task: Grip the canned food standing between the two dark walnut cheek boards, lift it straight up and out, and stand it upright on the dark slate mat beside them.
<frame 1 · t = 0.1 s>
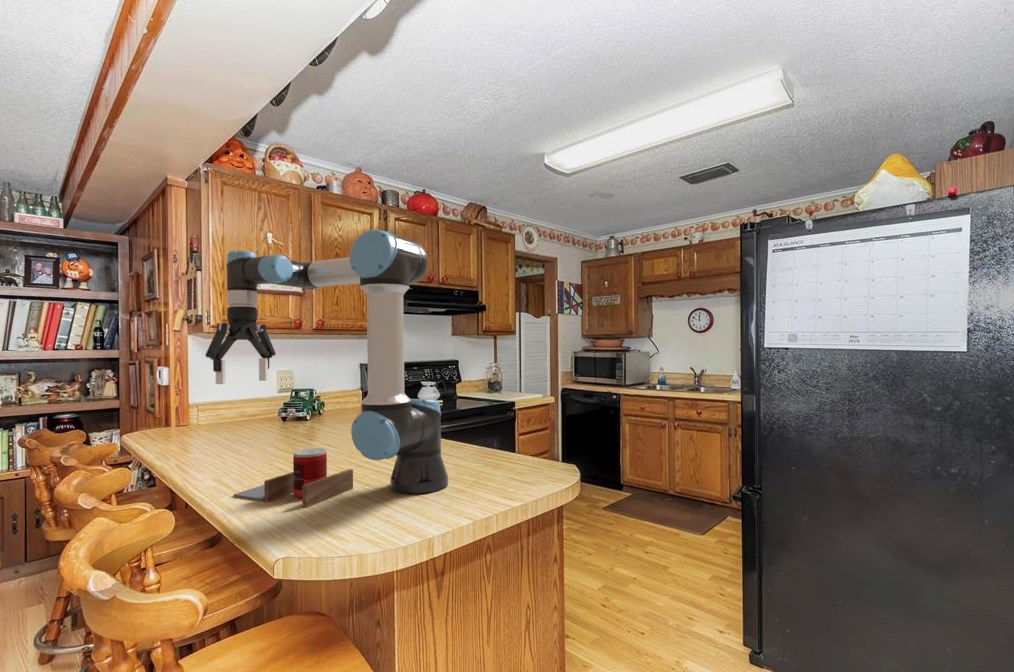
hand: (242, 382, 138), 28 cm above the countertop, tool pointing down, fingers open, 13 cm apart
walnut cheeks: (310, 494, 124), on the countertop
slate mat: (264, 493, 126), on the countertop
canned food: (310, 495, 124), on the countertop
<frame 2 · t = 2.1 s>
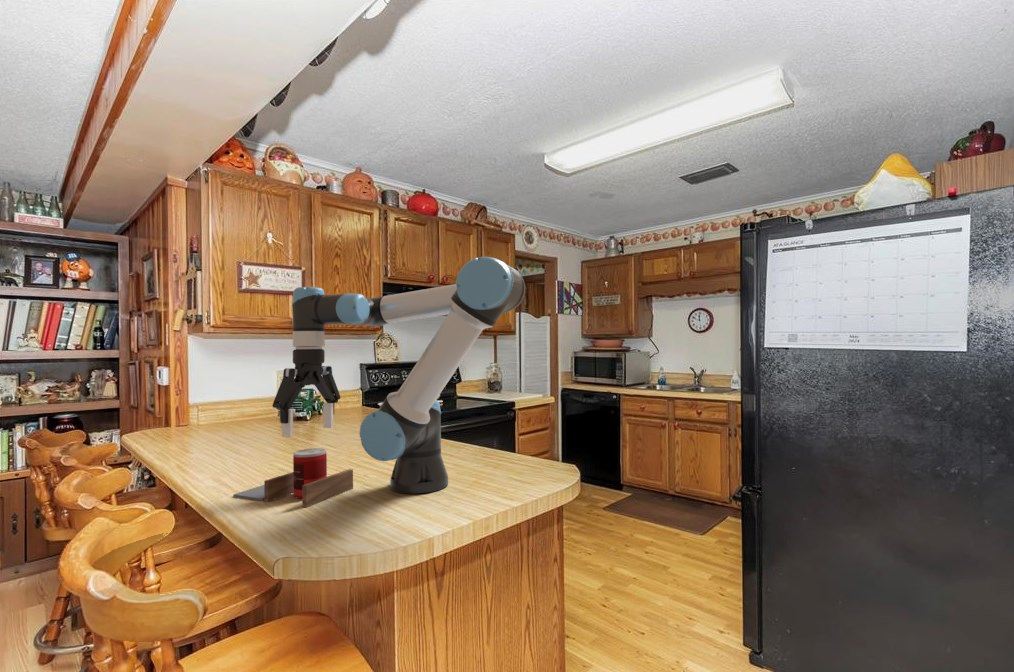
hand: (308, 432, 124), 16 cm above the countertop, tool pointing down, fingers open, 13 cm apart
nothing on the countertop moved.
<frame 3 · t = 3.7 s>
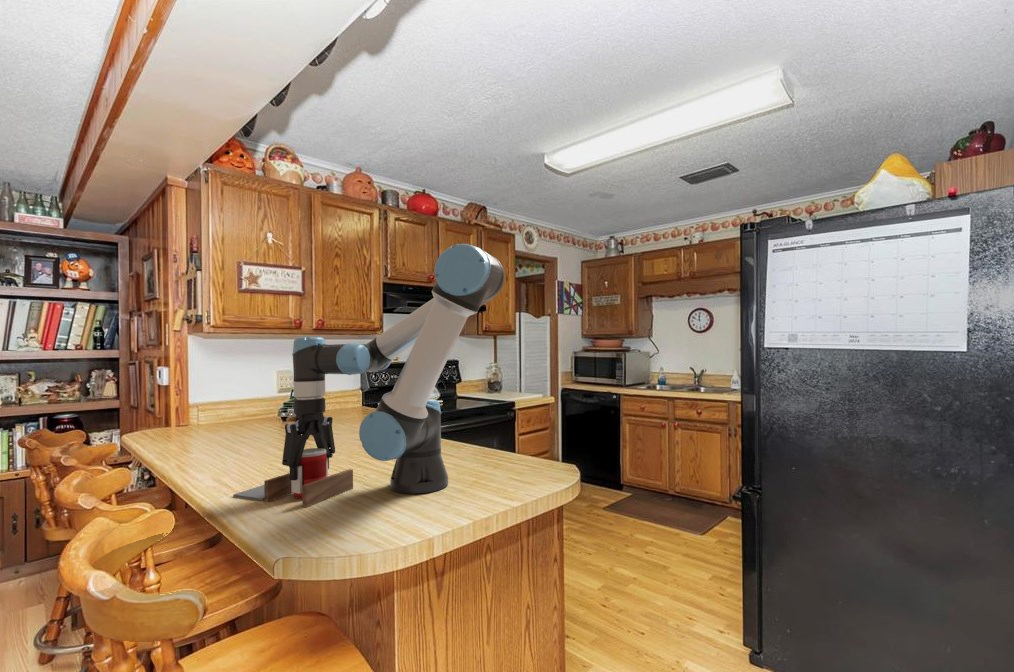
hand: (310, 487, 124), 2 cm above the countertop, tool pointing down, fingers closed on canned food, 8 cm apart
canned food: (310, 495, 124), on the countertop, touching gripper
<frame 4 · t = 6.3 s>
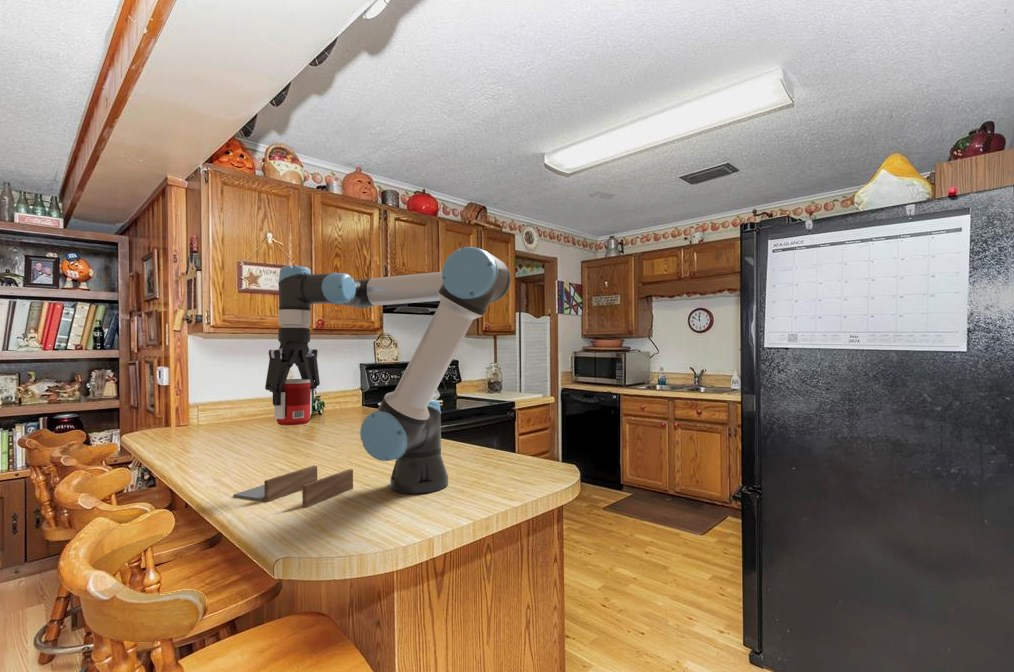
hand: (293, 416, 125), 20 cm above the countertop, tool pointing down, fingers closed on canned food, 8 cm apart
canned food: (293, 423, 125), point 18 cm above the countertop, touching gripper
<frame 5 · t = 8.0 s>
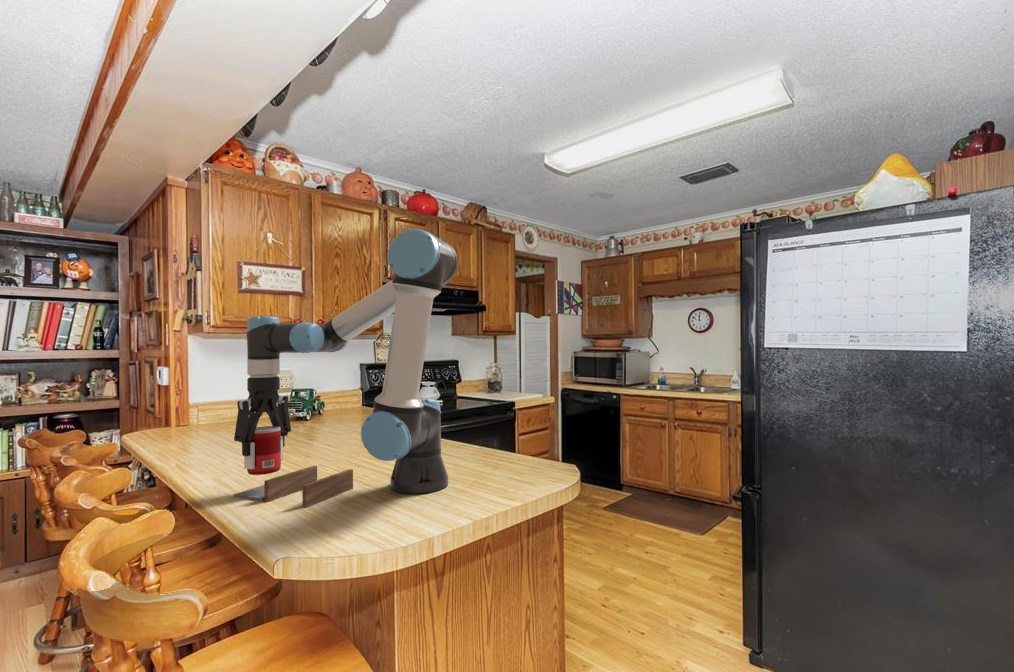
hand: (264, 464, 126), 7 cm above the countertop, tool pointing down, fingers closed on canned food, 8 cm apart
canned food: (264, 472, 126), point 5 cm above the countertop, touching gripper
when the fingers open (4 cm above the countertop, at t = 9.2 s): canned food drops 1 cm, resting on slate mat.
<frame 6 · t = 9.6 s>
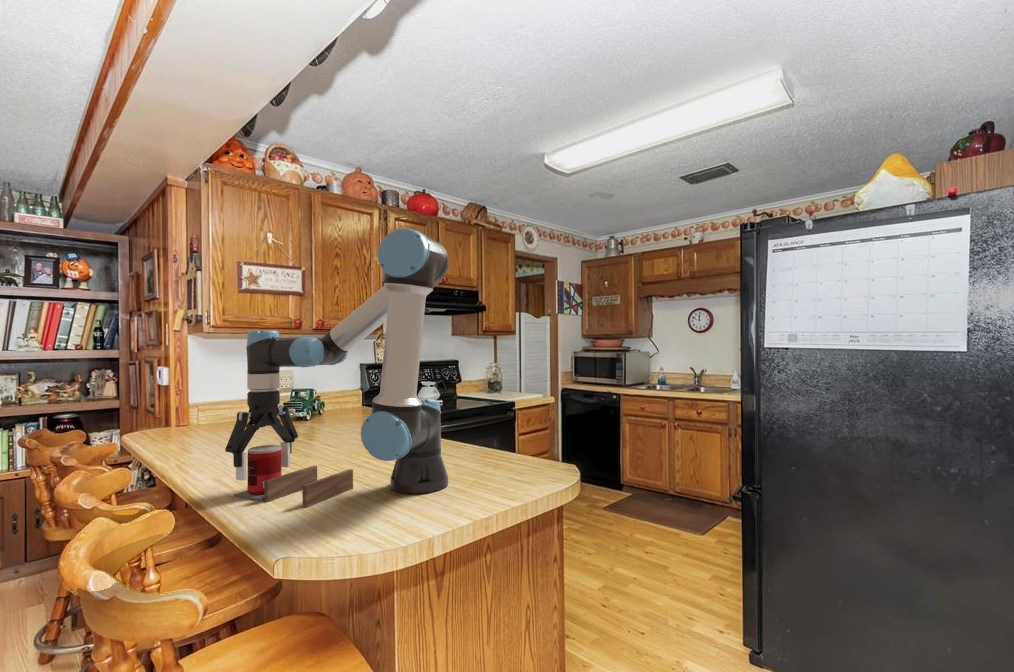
hand: (264, 473, 126), 5 cm above the countertop, tool pointing down, fingers open, 13 cm apart
canned food: (264, 491, 126), resting on slate mat
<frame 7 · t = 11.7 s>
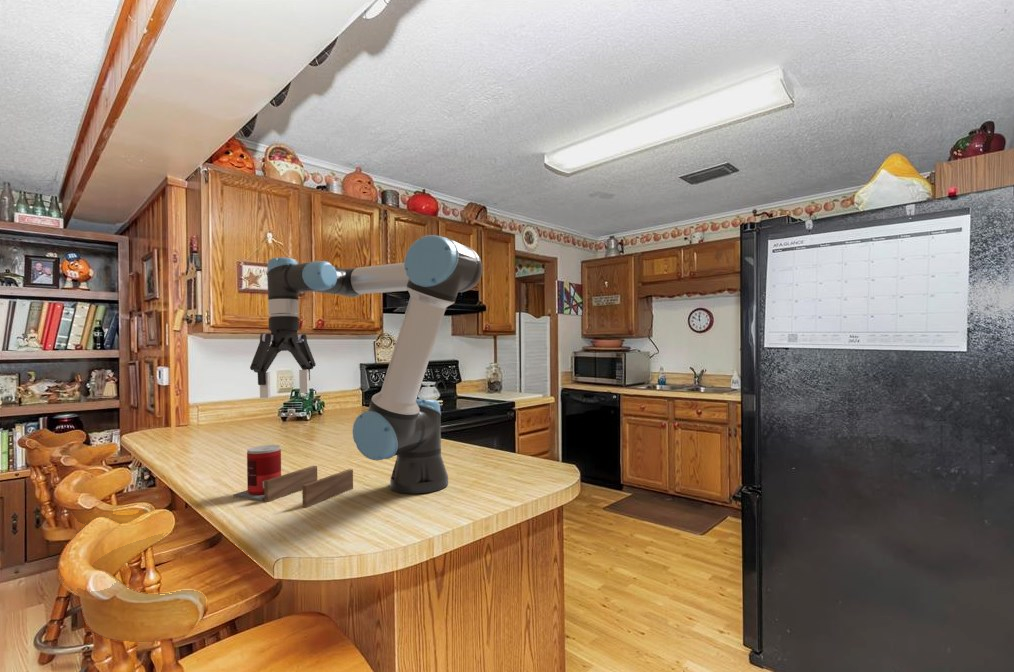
hand: (285, 395, 131), 25 cm above the countertop, tool pointing down, fingers open, 13 cm apart
nothing on the countertop moved.
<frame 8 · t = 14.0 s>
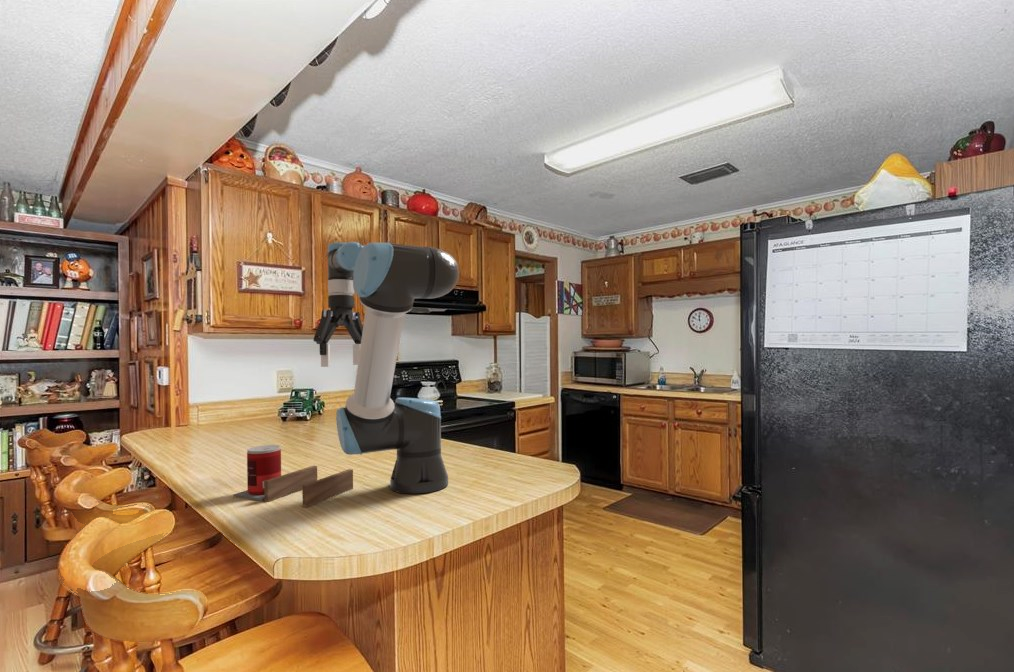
hand: (342, 365, 147), 32 cm above the countertop, tool pointing down, fingers open, 13 cm apart
nothing on the countertop moved.
at the end: canned food 0.0 cm off-centre on the slate mat, point 0.4 cm above the slate mat's base; canned food tilted 0°; the gripper is holding nothing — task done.
